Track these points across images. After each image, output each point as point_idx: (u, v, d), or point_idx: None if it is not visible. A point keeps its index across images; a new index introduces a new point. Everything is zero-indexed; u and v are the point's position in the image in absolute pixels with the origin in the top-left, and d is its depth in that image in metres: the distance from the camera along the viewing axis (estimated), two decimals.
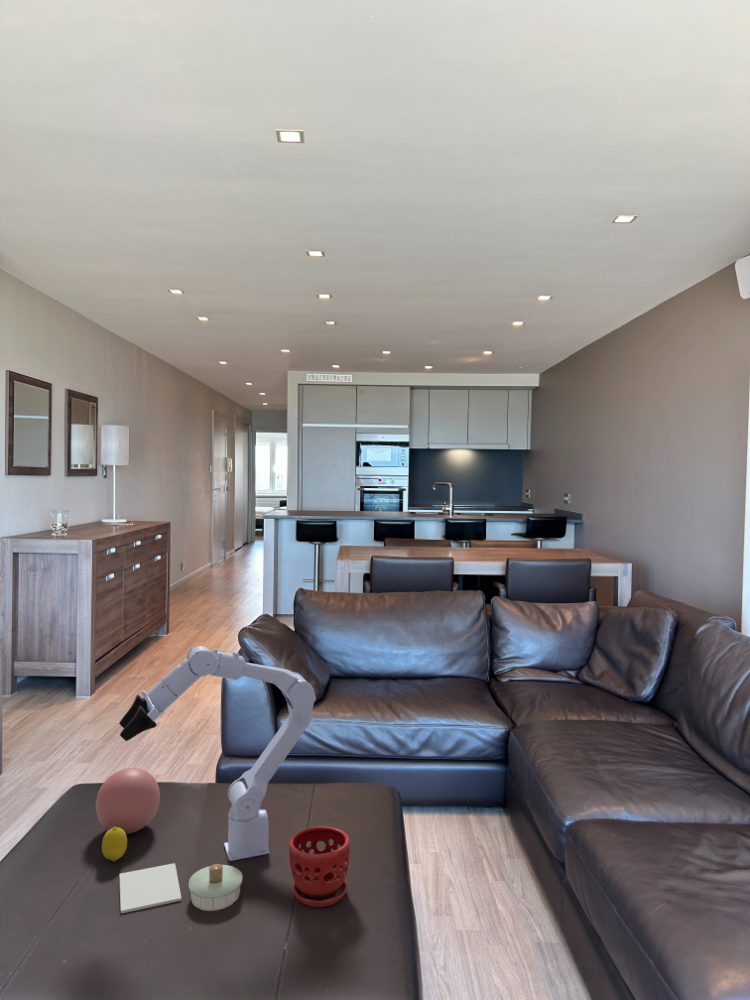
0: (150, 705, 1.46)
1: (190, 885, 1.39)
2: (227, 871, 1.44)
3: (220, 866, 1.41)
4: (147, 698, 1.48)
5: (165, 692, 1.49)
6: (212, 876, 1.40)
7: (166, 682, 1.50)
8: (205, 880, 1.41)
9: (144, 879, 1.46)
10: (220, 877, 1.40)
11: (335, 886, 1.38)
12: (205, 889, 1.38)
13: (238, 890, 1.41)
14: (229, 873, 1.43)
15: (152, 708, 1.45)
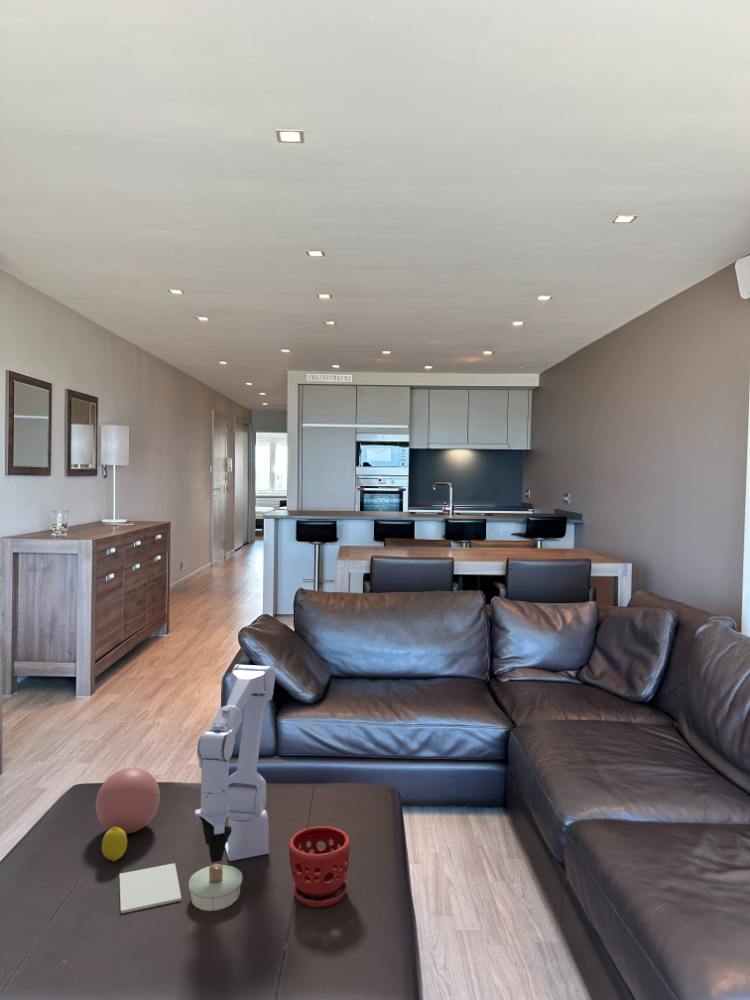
0: (210, 822, 1.36)
1: (190, 885, 1.39)
2: (227, 871, 1.44)
3: (220, 866, 1.41)
4: (204, 816, 1.38)
5: (212, 799, 1.38)
6: (212, 876, 1.40)
7: (219, 791, 1.38)
8: (205, 880, 1.41)
9: (144, 879, 1.46)
10: (220, 877, 1.40)
11: (335, 886, 1.38)
12: (205, 889, 1.38)
13: (238, 890, 1.41)
14: (229, 873, 1.43)
15: (213, 824, 1.35)
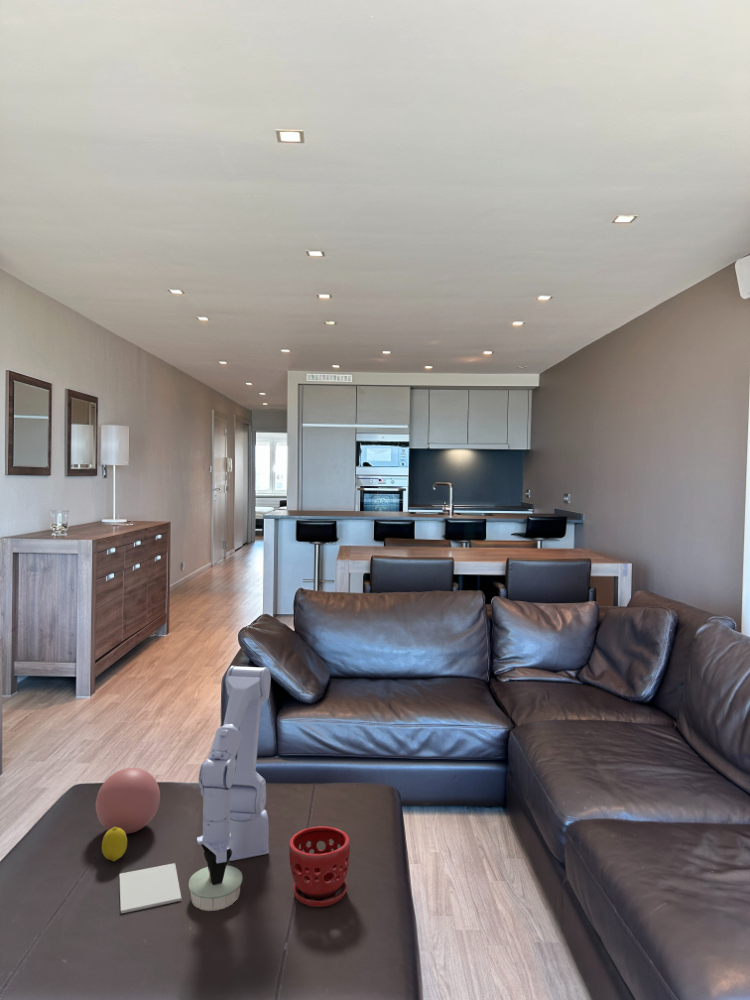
0: (212, 850, 1.36)
1: (190, 885, 1.39)
2: (227, 871, 1.44)
3: None
4: (206, 844, 1.38)
5: (214, 827, 1.38)
6: None
7: (221, 818, 1.39)
8: (205, 880, 1.41)
9: (144, 879, 1.46)
10: None
11: (335, 886, 1.38)
12: (205, 889, 1.38)
13: (238, 890, 1.41)
14: (229, 873, 1.43)
15: (215, 853, 1.35)
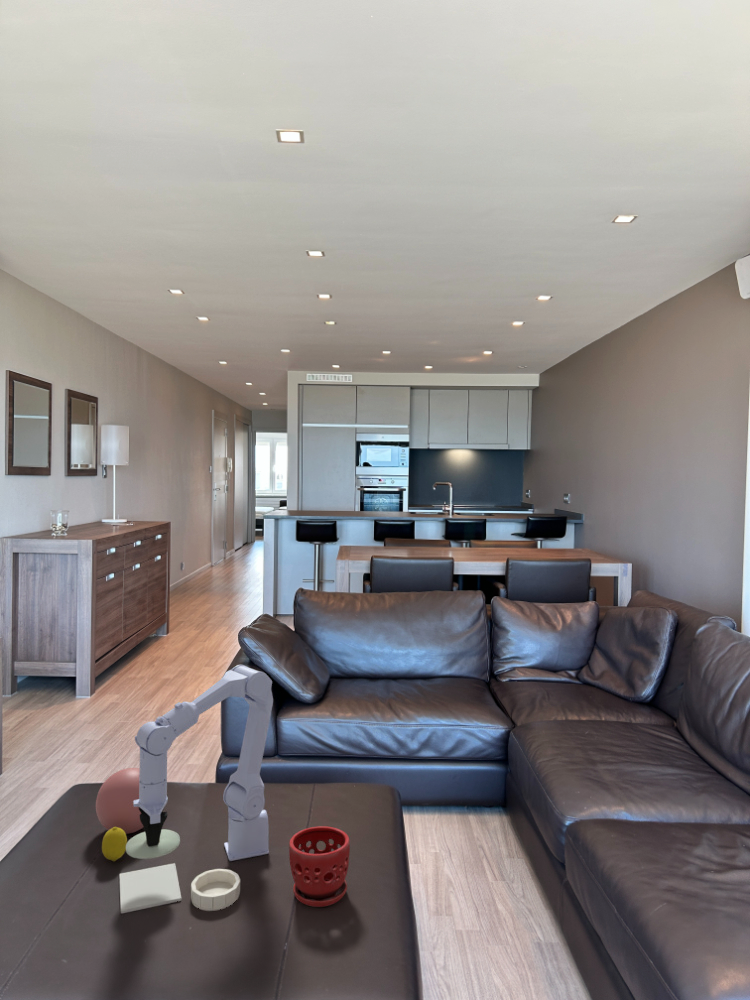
0: (147, 812, 1.38)
1: (127, 846, 1.41)
2: (166, 834, 1.46)
3: None
4: (141, 806, 1.40)
5: (149, 789, 1.40)
6: None
7: (147, 782, 1.40)
8: (142, 843, 1.43)
9: (144, 879, 1.46)
10: None
11: (335, 886, 1.38)
12: (140, 850, 1.40)
13: (238, 890, 1.41)
14: (167, 837, 1.46)
15: (149, 814, 1.37)
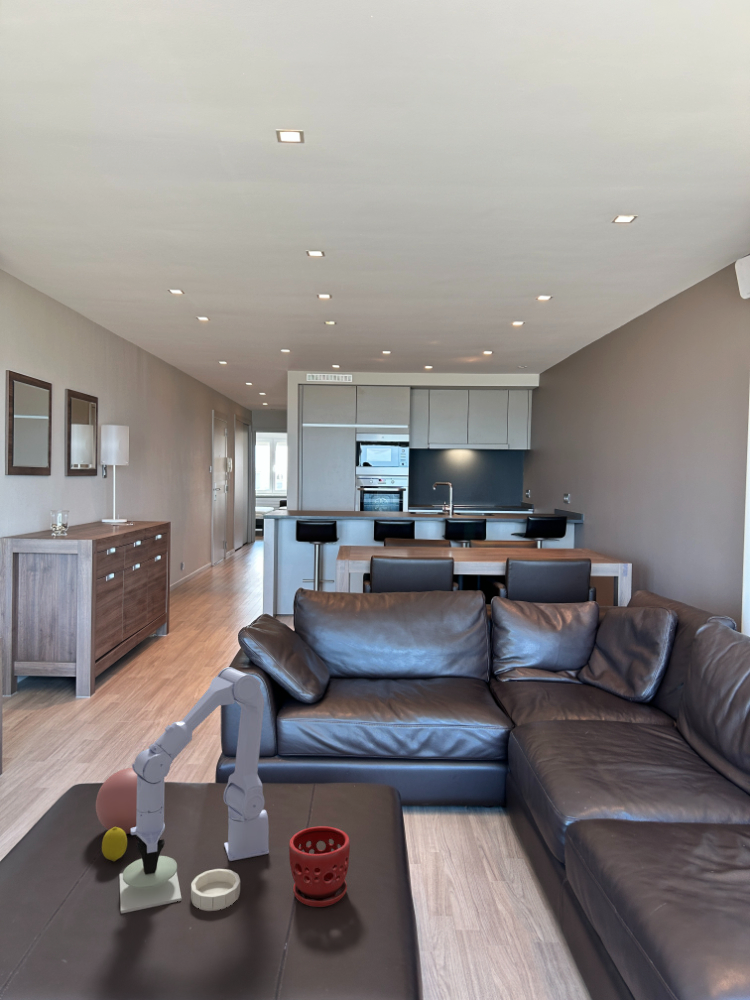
0: (144, 840, 1.38)
1: (124, 874, 1.42)
2: (163, 861, 1.47)
3: None
4: (138, 834, 1.40)
5: (146, 817, 1.41)
6: None
7: (144, 810, 1.41)
8: (139, 870, 1.43)
9: None
10: None
11: (335, 886, 1.38)
12: (137, 878, 1.40)
13: (238, 890, 1.41)
14: (165, 864, 1.46)
15: (146, 843, 1.37)
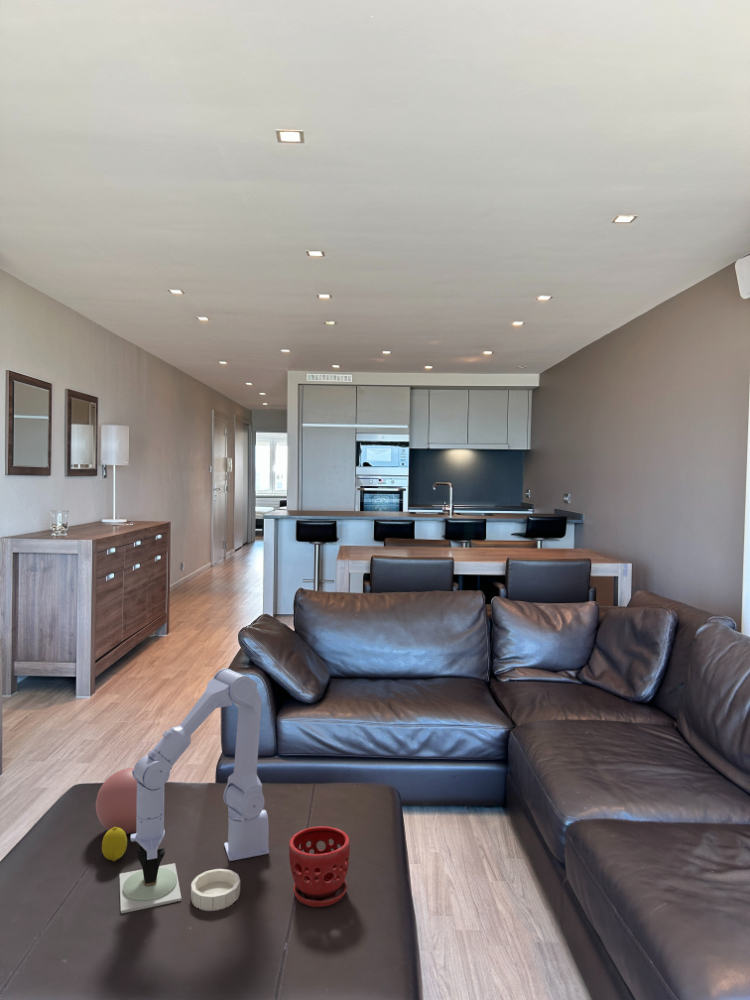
0: (144, 847, 1.38)
1: (124, 887, 1.42)
2: (163, 874, 1.47)
3: None
4: (138, 841, 1.41)
5: (146, 824, 1.41)
6: None
7: (144, 817, 1.41)
8: (139, 883, 1.43)
9: None
10: None
11: (335, 886, 1.38)
12: (137, 891, 1.40)
13: (238, 890, 1.41)
14: (165, 876, 1.46)
15: (146, 850, 1.37)
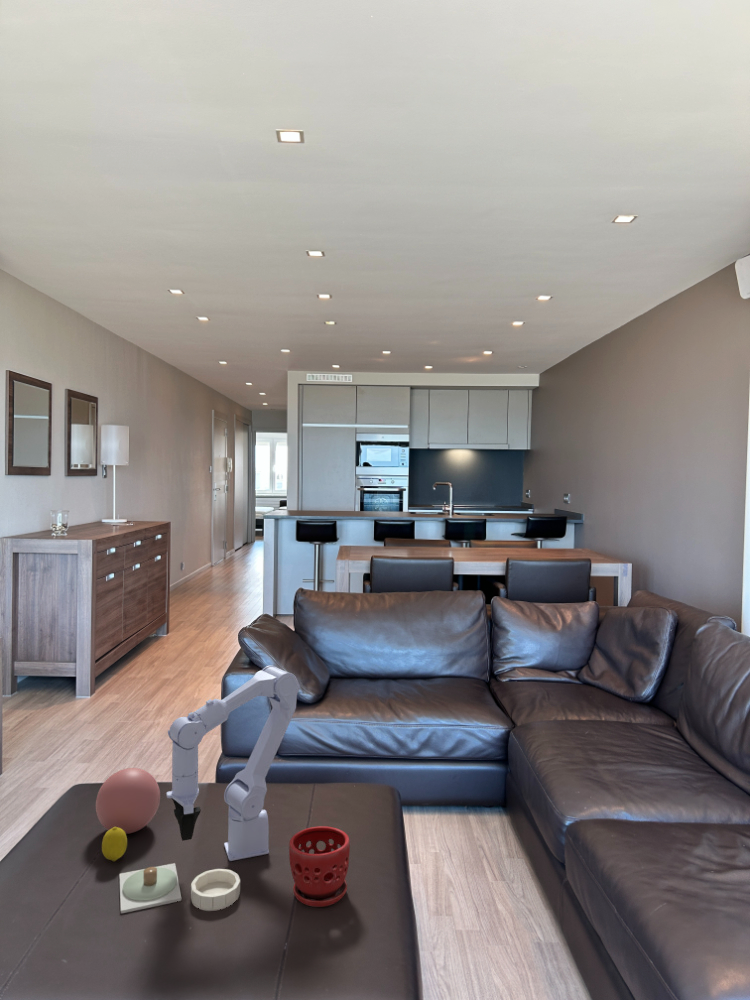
0: (180, 803, 1.45)
1: (124, 887, 1.42)
2: (164, 874, 1.47)
3: (154, 869, 1.44)
4: (174, 798, 1.47)
5: (182, 781, 1.47)
6: (145, 878, 1.42)
7: (179, 774, 1.47)
8: (139, 883, 1.43)
9: None
10: (154, 880, 1.43)
11: (335, 886, 1.38)
12: (136, 891, 1.40)
13: (238, 890, 1.41)
14: (165, 876, 1.46)
15: (183, 805, 1.44)
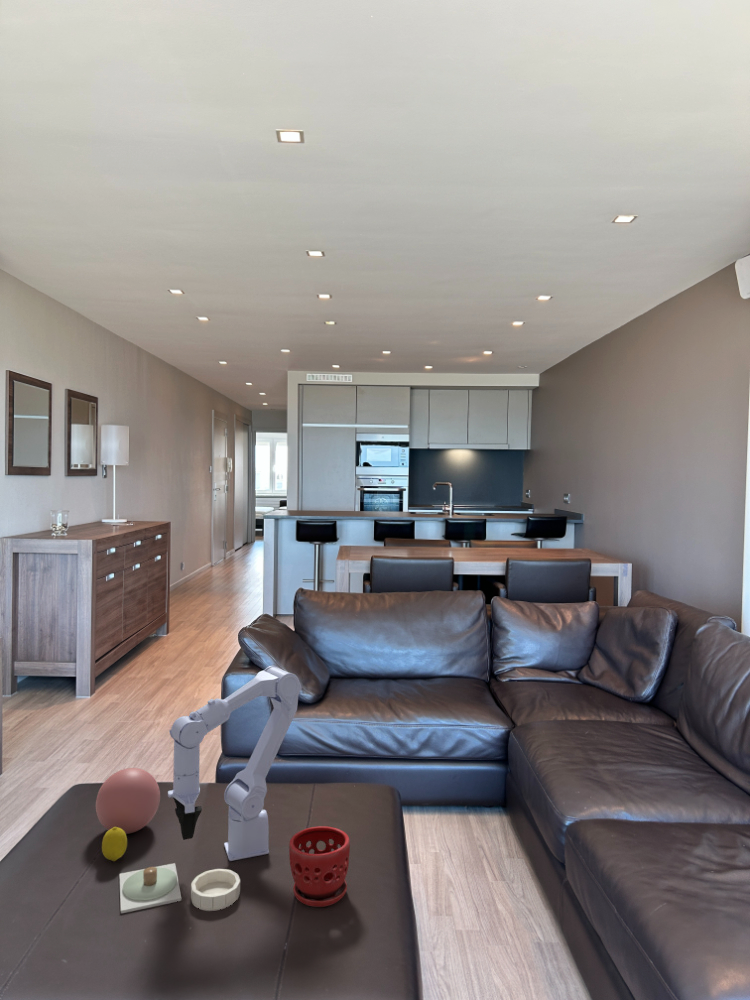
0: (181, 802, 1.45)
1: (124, 886, 1.42)
2: (164, 874, 1.47)
3: (154, 869, 1.44)
4: (176, 797, 1.47)
5: (183, 780, 1.47)
6: (145, 878, 1.42)
7: (180, 773, 1.47)
8: (139, 883, 1.43)
9: None
10: (153, 880, 1.43)
11: (335, 886, 1.38)
12: (136, 891, 1.40)
13: (238, 890, 1.41)
14: (165, 876, 1.46)
15: (184, 804, 1.44)
